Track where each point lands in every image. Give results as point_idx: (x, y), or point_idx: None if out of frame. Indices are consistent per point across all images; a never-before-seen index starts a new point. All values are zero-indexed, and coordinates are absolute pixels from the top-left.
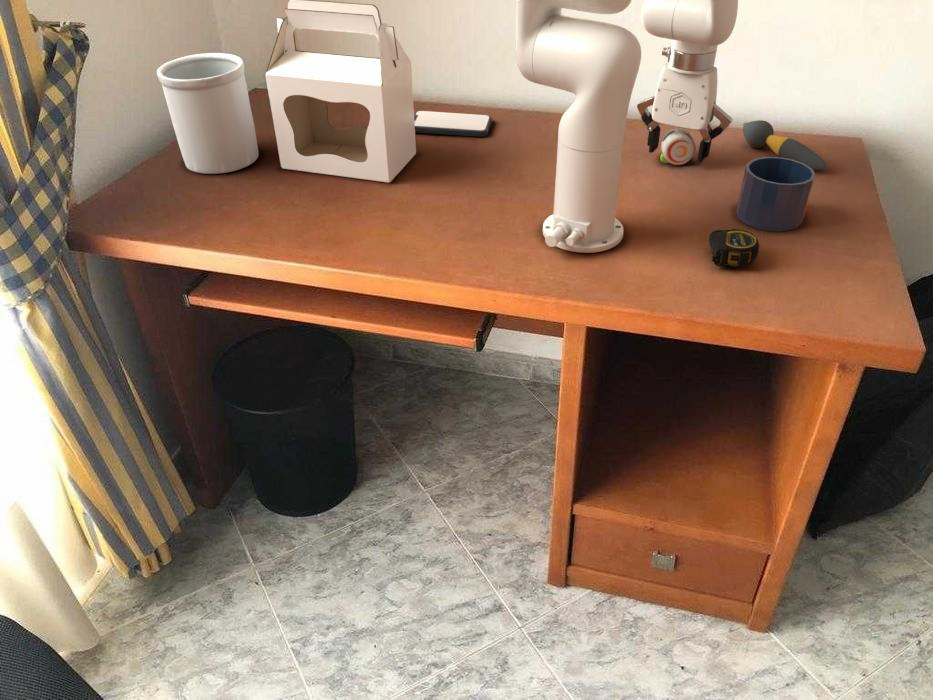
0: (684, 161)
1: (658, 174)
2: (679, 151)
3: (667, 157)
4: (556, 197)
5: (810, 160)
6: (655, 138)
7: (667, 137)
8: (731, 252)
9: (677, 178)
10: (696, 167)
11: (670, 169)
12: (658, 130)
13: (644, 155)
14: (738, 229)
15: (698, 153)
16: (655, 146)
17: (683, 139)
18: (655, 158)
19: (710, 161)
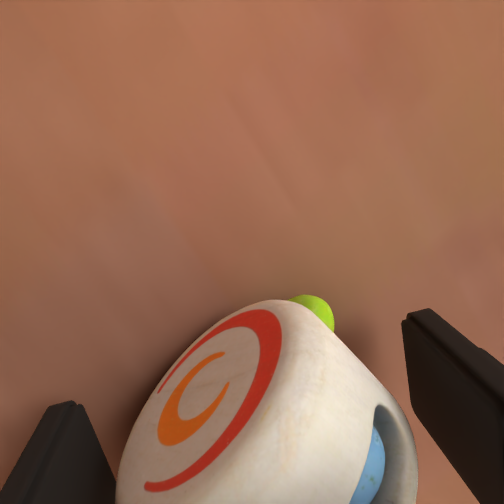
0: (170, 369)
1: (226, 135)
2: (204, 387)
3: (266, 305)
4: None
5: None
6: (461, 398)
7: (361, 439)
8: None
9: (87, 171)
10: (108, 390)
11: (210, 260)
12: (500, 488)
13: (443, 318)
14: None
15: (57, 449)
16: (419, 375)
17: (187, 486)
18: (369, 328)
19: None
